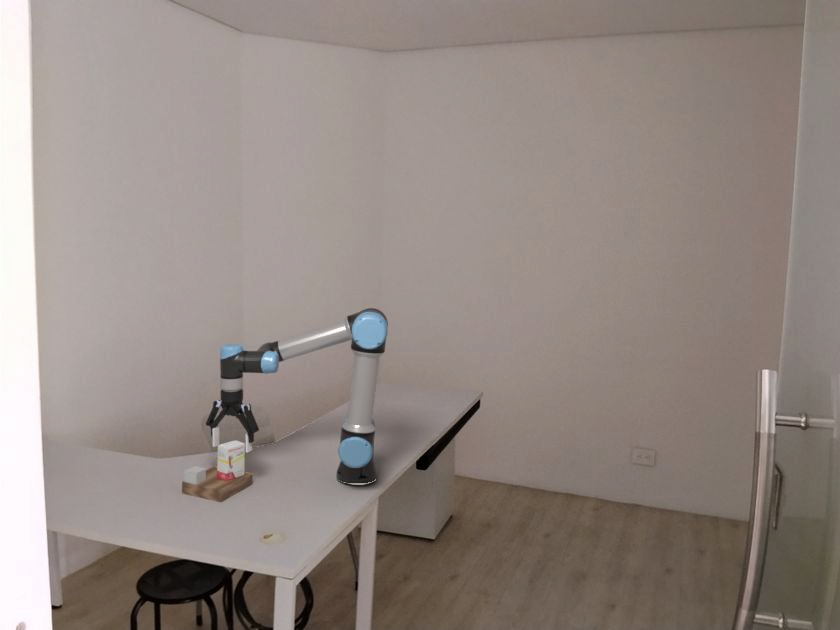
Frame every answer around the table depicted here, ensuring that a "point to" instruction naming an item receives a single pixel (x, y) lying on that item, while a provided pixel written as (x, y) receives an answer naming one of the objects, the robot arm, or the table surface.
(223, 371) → the robot arm
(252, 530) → the table surface
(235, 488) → the dock
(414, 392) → the table surface
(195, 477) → the light grey block
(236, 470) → the ink box
